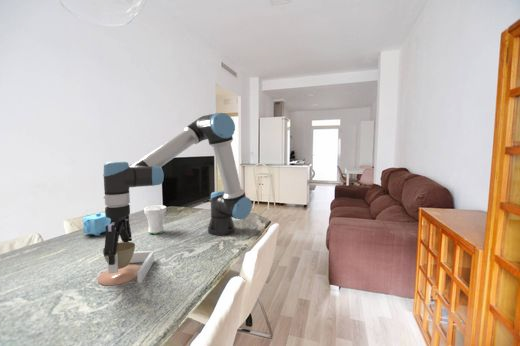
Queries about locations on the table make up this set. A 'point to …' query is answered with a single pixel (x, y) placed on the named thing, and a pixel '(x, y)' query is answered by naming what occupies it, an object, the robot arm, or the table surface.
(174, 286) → the table surface
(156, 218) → the cup
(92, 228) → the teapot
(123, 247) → the flower pot
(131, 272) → the coaster
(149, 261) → the acrylic walls
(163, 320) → the table surface
